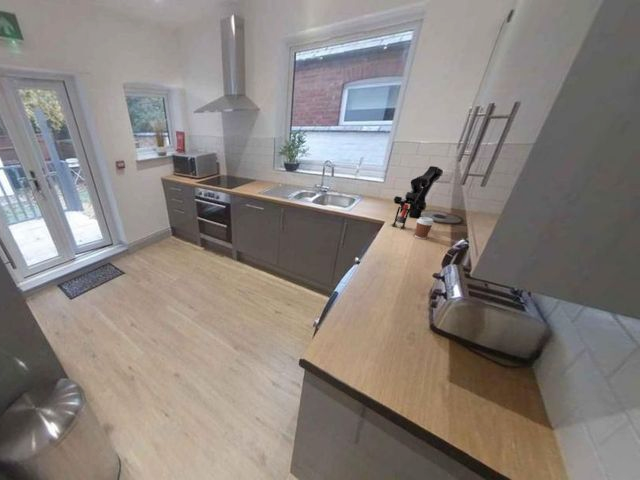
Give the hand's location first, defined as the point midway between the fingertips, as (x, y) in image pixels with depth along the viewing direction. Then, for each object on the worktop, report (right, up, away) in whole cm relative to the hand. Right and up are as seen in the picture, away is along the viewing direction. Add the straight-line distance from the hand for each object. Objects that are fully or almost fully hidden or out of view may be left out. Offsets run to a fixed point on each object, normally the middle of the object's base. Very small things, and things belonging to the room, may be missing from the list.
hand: (403, 213), depth 170 cm
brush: (-1, -6, +2) cm, 6 cm away
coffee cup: (+4, -16, -10) cm, 19 cm away
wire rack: (-2, -9, +3) cm, 10 cm away
